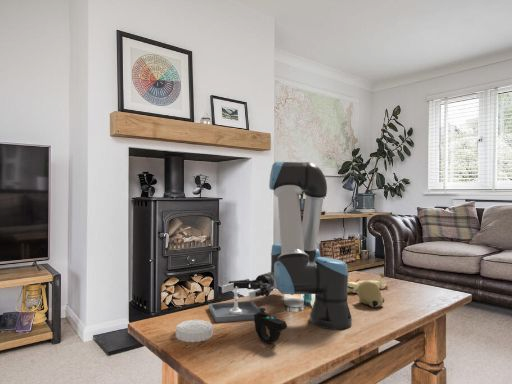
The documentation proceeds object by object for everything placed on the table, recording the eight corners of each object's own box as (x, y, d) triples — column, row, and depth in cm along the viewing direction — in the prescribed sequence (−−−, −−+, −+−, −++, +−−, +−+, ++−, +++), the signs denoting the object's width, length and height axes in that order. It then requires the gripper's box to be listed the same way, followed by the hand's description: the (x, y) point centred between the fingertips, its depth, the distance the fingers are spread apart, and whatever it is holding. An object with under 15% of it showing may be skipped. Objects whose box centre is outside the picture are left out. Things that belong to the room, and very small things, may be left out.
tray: (263, 318, 137) (263, 313, 137) (216, 322, 132) (216, 317, 132) (251, 305, 152) (251, 300, 152) (208, 308, 147) (208, 303, 147)
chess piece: (243, 313, 140) (244, 287, 140) (231, 314, 139) (231, 288, 139) (239, 309, 145) (240, 284, 145) (227, 310, 143) (228, 285, 143)
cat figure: (375, 288, 190) (338, 289, 178) (376, 271, 191) (340, 271, 178) (391, 293, 182) (353, 294, 169) (392, 275, 182) (355, 275, 170)
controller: (260, 335, 121) (261, 305, 121) (288, 347, 112) (289, 314, 112) (251, 338, 118) (251, 307, 118) (279, 351, 109) (279, 317, 109)
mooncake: (205, 344, 113) (205, 333, 113) (169, 340, 116) (169, 329, 116) (217, 330, 125) (217, 320, 125) (184, 327, 127) (184, 316, 127)
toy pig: (363, 315, 154) (379, 303, 148) (348, 289, 160) (363, 277, 154) (377, 310, 160) (393, 298, 154) (362, 286, 166) (377, 273, 160)
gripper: (291, 296, 152) (261, 308, 135) (244, 286, 167) (211, 296, 150) (291, 278, 152) (261, 288, 135) (244, 269, 167) (212, 277, 150)
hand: (235, 292), depth 142 cm, fingers open, 13 cm apart
